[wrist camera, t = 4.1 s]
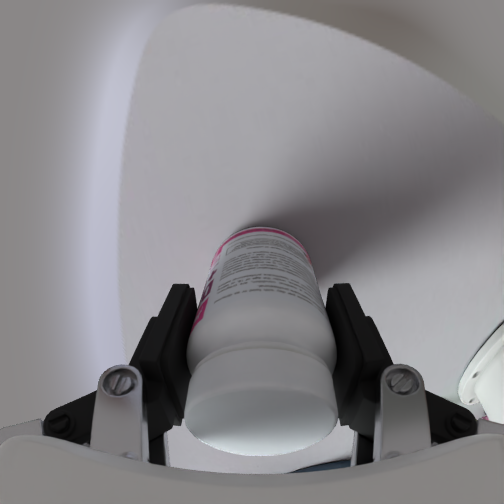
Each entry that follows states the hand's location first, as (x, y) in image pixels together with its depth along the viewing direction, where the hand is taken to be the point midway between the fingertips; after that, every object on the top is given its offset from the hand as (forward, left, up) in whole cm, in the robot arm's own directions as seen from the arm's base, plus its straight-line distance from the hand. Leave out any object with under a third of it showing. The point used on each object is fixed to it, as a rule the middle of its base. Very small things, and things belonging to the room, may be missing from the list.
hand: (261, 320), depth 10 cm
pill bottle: (0, 0, -4) cm, 4 cm away
